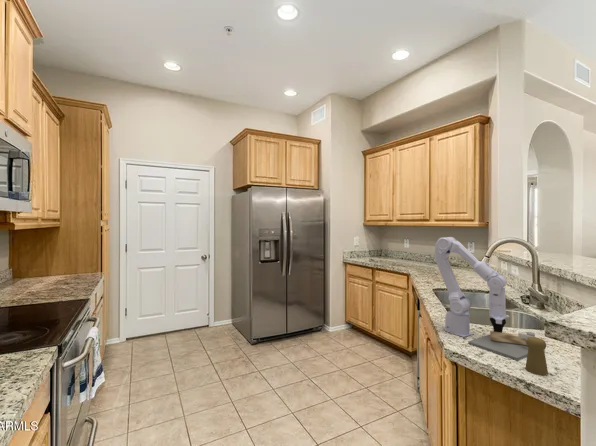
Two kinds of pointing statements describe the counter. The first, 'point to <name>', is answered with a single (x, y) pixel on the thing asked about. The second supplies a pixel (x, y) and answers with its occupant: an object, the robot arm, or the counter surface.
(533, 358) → the cork
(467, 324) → the robot arm
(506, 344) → the base plate
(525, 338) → the keeper
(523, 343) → the link
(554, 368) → the counter surface
